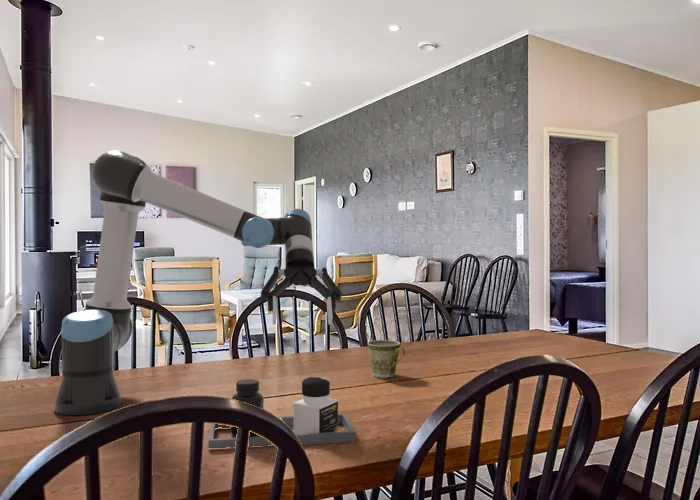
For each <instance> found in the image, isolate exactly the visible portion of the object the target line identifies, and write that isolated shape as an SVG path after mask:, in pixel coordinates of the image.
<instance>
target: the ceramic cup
mask: <svg viewBox="0 0 700 500" xmlns="http://www.w3.org/2000/svg"><path fill="white" fill-rule="evenodd" d="M367 349H368V354H369V358H370V363H371V370H372V375H373V377H374V376H375V377H376V378H379V377H380V378H379V379H388V378H387V377H391V378H393V377H392V376H394V377H395V374H396V369H397V364H398V362H400V361H401V360H402V359H403V358H404V357H405V355H406V351H405V349H404V348H403V347H401V342H399V341H397V340H390V339H376V340H370V341H368V342H367ZM400 351H402V354H403V355H402V356H401V357H399V353H400ZM375 377H374V378H375Z"/></svg>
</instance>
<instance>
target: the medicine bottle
mask: <svg viewBox="0 0 700 500" xmlns="http://www.w3.org/2000/svg"><path fill="white" fill-rule="evenodd" d="M330 385H331V383H330V380H329V379H327V378H325V377H322V376H310V377H307V378H304V379H303V380H302V382H301V398H302V399H299V400H297V401H294V402H293V404H292V405H293V407H292V408H293V414H292V416H293V426H292V428H293V430H292V431H294V433H295V434H309V433H327V432H339V423H338V414H339V399H335V398H331V392H330V391H331V388H330V387H331V386H330ZM294 433H293V434H294Z"/></svg>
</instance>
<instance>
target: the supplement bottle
mask: <svg viewBox="0 0 700 500" xmlns="http://www.w3.org/2000/svg"><path fill="white" fill-rule="evenodd" d="M235 385H236V387H235V391H236V392H235V393H234V394H233V396H232V397H231V399H236V400H239V401H242V402H246V403H249V404H252V405H255V406H257V407H260V408H262V409H264V396H263V395H262V393H260V392H259V391H260V381H259V380H258V379H252V378H247V379H246V378H243V379H239V380H237V381H236V384H235ZM237 429H238V428H236V427H231V429H230V438H236V434H237ZM249 437H258V435H256V434H254V433H252V432H250V436H249Z"/></svg>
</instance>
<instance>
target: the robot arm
mask: <svg viewBox="0 0 700 500" xmlns="http://www.w3.org/2000/svg"><path fill="white" fill-rule="evenodd" d="M146 163H147V162H145V161H144V160H142V159H141V158H139V157H138V156H134V155H132V154H129V153H127V152H125V151H122V150H109V151H107V152H104V153H102V154H101V155H100V156H98V157H97V158H96V160H95V161H94V164H93V165H92V170H91V171H92V172H91V174H92V179H93V182H94V184H95V186H96V187H97V188H98V189H99V190H100V197H99V203H100V204H101V206H103V208H104V213H103V220H102V226H101V227H102V228H101V235H100V242H99V243H100V244H99V250H98V257H97V265H96V272H95V279H94V285H93V294H92V297H91V298H89V299H88V300H87V301H85V305H84V306H85V308H84V310H79V311H75V312H71V313H69V314H67V315H65V317H63V319H62V322H61V328H60V336H61V369H62V371H61V372H62V374H61V375H62V376H61V381H60V384H59V387H58V390H57V393H56V397H55V400H54V411H55V413H57V414H60V415H65V416H66V415H67V416H85V415H86V416H88V415H94V414H99V413H105V412H108V411H111V410H114V409H116V408H117V407H119V406H121V403H122V395H121V391H120V388H119V386H118V384H117V380H116V378H115V377H116V376H115V375H114V353H115V352H116V351H119V350H121V349H122V348H123V347H124V346H125V345H126V344H127V343H128V342H129V340H130V339H131V336H132V333H133V330H134V329H133V328H134V327H133V321H132V318H131V311H132V304H131V303H130V302H129V300H128V293H129V286H130V285H129V284H130V277H131V268H132V265H133V263H132V262H133V256H134V248H135V242H136V241H135V240H136V234H137V226H138V220H139V219H138V218H139V213H140V212H141V211H143V210H144V209H146V204H149V205H152V206H154V207H157V208H159V209H162V210H164V211H167V212H168V213H171V214H174V215H176V216H179V217H181V218H184V219H187V220H189V221H191V222H193V223H196V224H198V225H200V226H204V227H206V228H209V229H211V230H213V231H216V232H219V233H221V234H222V235H223V234H224V235H226V236H229V237H231V238H233V239H235V240H238V241H240V242H241V245H242V246H244V247H251V248H256V249H260V248H261V249H262V248H265V247H267V246H281V245H284V249H285V250H284V252H285V255H284V257H285V261H284V262H285V263H284V264H285V267H284V268H283V269H282V268H280V267H278V266H274V267H273V273H272V274H271V275H270V278H269V279H268V280H267V282H266V283H265V285H264V286H263V288H262V289H261V290H260V300H261V301H267V311H268V312H272V325H277V298H278V297H279V296H280V295H281V294H283V292H285V291H286V290H287V288H290V287H291V286H292V285H294V286H305V287H306V286H309V287H310V288H311V289H314V290H315V291H316V292H318V293H319V294H320V295H321V296H322V297H323V298H324V299H325V300H326V310H327V311H326V312H327V313H326V314H327V324H328V325H332V323H333V317H334V316H333V313H335V312H336V307H337V304H336V302H340V301H341V299H342V295H343V292H342V291H341V289H339V287H338V285H336V283H335V282H334V280H333V279H332V278H331V276H330V275H329V273H328V269H327V268H326V267H322V268H321V269H316V268H315V259H314V248H313V247H314V245H313V244H314V243H313V231H312V230H313V229H312V228H313V227H312V222H311V216H310V214H309V213H308V212H307V211H306V210H304V209H302V208H293V209H291V210H288V211H286V213H285V214H284V217H276V218H275V217H274V218H273V217H272V218H270V217H269V218H268V217H267V218H265V217H262V216H259V215H256V214H255V213H251V212H249V211H246V210H245V209H242V208H240V207H237V206H235V205H232V204H230V203H227V202H226V201H223V200H220V199H218V198H215V197H213V196H210V195H208V194H205V193H203V192H201V191H198V190H196V189H194V188H191V187H189V186H186V185H184V184H181V183H180V182H177V181H175V180H171V179H170V178H167V177H165V176H162V175H160V174H158V173H155V172H153V171H152V168H151V167H150V166H149V165H148V164H146ZM282 276H284V278H283V280H281V281H280V283H278V284H277V285H276V283H277V281H278V279H280V278H281V277H282ZM318 277H319V279H320V280H322V282H323V283H322V282H321V281H320V280H319V279H318ZM275 285H276V286H275Z"/></svg>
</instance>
